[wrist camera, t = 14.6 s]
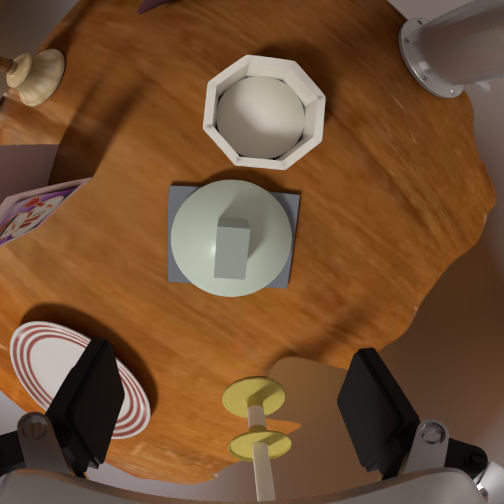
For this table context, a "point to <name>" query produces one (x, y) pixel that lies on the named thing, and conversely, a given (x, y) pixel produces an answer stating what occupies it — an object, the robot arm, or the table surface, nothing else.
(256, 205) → the lid
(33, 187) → the greeting card
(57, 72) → the hand bell
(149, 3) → the icecream
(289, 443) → the candle
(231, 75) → the bowl
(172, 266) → the mat
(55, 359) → the dinner plate
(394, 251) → the table surface
